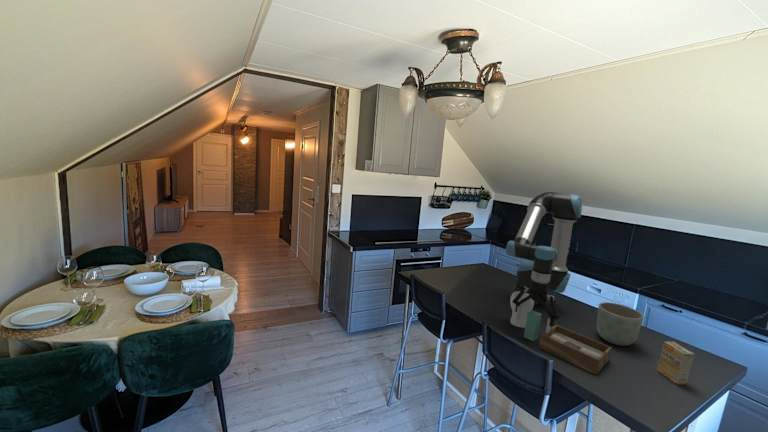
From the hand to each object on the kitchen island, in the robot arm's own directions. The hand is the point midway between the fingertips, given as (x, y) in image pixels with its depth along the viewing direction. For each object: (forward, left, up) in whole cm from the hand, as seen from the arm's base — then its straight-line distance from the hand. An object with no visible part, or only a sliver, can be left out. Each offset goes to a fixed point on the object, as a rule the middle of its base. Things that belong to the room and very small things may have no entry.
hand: (532, 325), depth 148 cm
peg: (0, 0, -6) cm, 6 cm away
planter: (-33, +24, -6) cm, 42 cm away
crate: (-3, +17, -6) cm, 18 cm away
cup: (-8, -10, -6) cm, 14 cm away
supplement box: (-20, +47, -6) cm, 51 cm away
